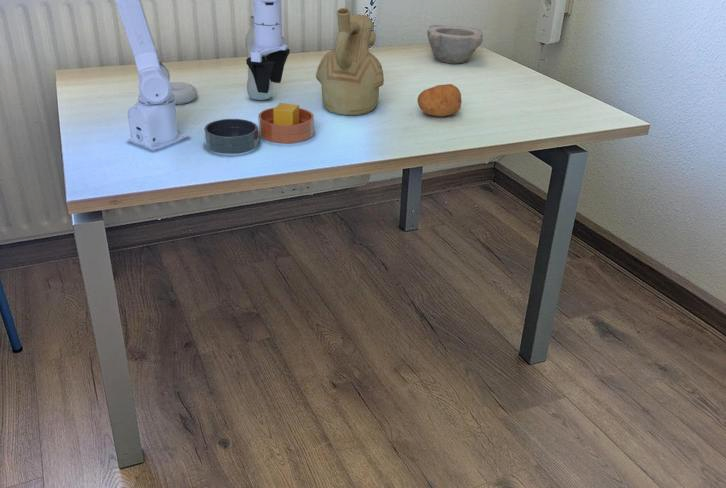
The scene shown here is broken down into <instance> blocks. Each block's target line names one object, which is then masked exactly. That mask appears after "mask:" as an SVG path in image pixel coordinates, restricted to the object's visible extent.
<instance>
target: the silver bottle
mask: <svg viewBox="0 0 726 488" xmlns="http://www.w3.org/2000/svg"><path fill="white" fill-rule="evenodd" d="M249 26H250V28H248V29H249V30H248V31H247V33H246V35H245V37H244V44H245V49H246V55H247V58H249V57H251V52H252V51H253V45H254V43H255V40H254V15H251V16H249ZM273 91H274V85H273V82H271V80H270V84H269V91H268V93H260V92H258V90H257V87H256V83H255V80H254V77H253V74H252V72H251V70H250V68H249V67H248V68H247V81H246V92H247V95H248V97H249V98H250V99H252V100H256V101H263V100H269V99H270V98H271V97H272V95H273Z"/></svg>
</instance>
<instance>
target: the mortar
mask: <svg viewBox="0 0 726 488" xmlns="http://www.w3.org/2000/svg"><path fill="white" fill-rule="evenodd" d="M426 34H427V39H428V43H429V46H430V49H431V51H432V53H433V55H434V57H435V59H436V60H437V61H439V62H441V63H446V64H452V65H455V64H457V65H458V64H463V63H465V62H467V61H468V60H469V59H470V58H471V57H472V56H473V54H474V53H475V52H476V51H477V49H478V48H479V47H480V46H481V45H482V43H483V41H484V40H483V39H484V38H483V32H482V31H481V30H480V29H479V28H477V27H466V26H460V25H444V24H443V25H441V24H432V25H429V26H428V28H427V33H426Z"/></svg>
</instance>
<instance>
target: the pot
mask: <svg viewBox="0 0 726 488" xmlns="http://www.w3.org/2000/svg"><path fill="white" fill-rule="evenodd" d="M203 132H204V144H205V147H206V148H207V149H208V150H210V151H211V152H214V153H217V154H224V155H236V154H242V153H247V152H251V151H253V150H254V149H256V148H257V147H258V146H259V126H258V124H256V123H255V122H253V121H250V120H247V119H243V118H222V119H216V120H214V121H211V122H208V123H207V124H206V125H204V128H203Z"/></svg>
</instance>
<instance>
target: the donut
mask: <svg viewBox="0 0 726 488" xmlns="http://www.w3.org/2000/svg"><path fill="white" fill-rule="evenodd" d="M170 84H171V93H172V94H173V95H174V99H175V105H184V104H188V103H191V102H192V101H194V100H195V99H196V97H197V96H198V92H197V89H196V87H195V86H194V85H193V84H191V83H187V82H181V81H171V82H170Z"/></svg>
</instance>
